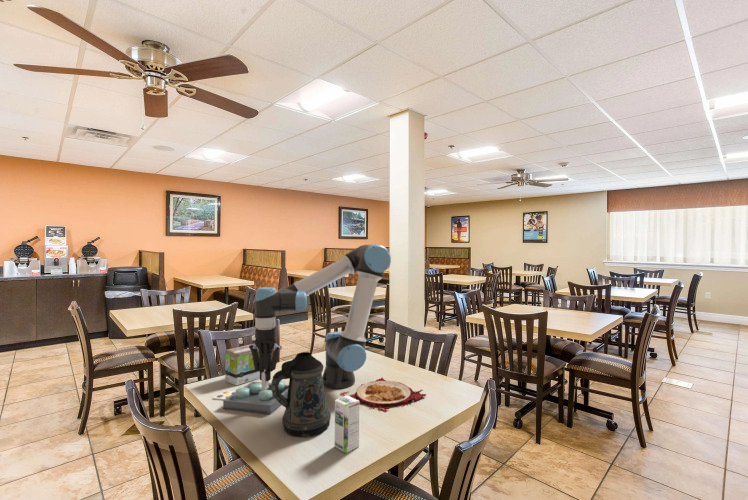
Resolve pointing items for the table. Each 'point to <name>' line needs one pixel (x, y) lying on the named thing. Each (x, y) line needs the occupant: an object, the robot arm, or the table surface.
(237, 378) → the tea box
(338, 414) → the syrup box
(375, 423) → the table surface
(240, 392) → the button
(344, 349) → the robot arm
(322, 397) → the beer stein
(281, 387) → the button
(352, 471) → the table surface
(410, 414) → the table surface
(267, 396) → the button
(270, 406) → the button board
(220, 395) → the card
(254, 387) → the button
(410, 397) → the plate with food
